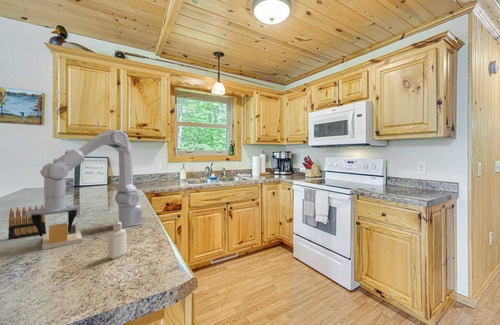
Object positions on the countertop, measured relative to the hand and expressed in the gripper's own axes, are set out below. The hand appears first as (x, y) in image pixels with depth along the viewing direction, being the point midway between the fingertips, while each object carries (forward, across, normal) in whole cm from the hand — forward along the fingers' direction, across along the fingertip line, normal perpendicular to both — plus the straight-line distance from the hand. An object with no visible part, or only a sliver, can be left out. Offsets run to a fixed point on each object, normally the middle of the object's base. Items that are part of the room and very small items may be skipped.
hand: (55, 233), depth 82 cm
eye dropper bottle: (+4, +16, -24) cm, 29 cm away
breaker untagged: (+2, +5, +6) cm, 8 cm away
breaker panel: (+4, +2, +3) cm, 5 cm away
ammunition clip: (+4, -8, +18) cm, 20 cm away
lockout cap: (+2, +1, 0) cm, 3 cm away
